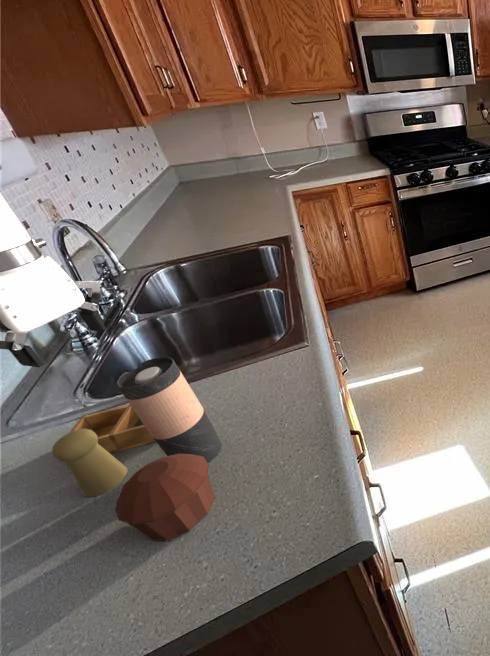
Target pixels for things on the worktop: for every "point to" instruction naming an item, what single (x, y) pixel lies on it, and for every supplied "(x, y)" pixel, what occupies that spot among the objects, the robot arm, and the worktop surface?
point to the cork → (89, 462)
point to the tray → (116, 428)
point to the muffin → (167, 496)
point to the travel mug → (169, 409)
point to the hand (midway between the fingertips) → (69, 346)
